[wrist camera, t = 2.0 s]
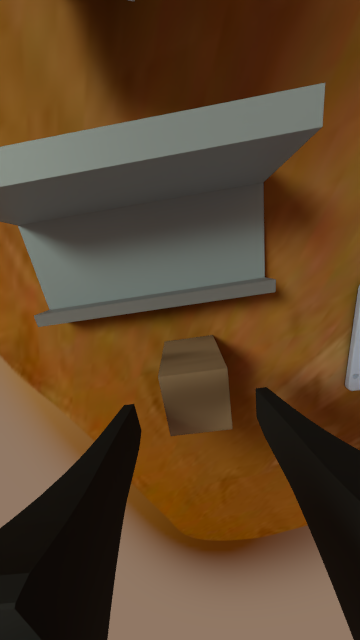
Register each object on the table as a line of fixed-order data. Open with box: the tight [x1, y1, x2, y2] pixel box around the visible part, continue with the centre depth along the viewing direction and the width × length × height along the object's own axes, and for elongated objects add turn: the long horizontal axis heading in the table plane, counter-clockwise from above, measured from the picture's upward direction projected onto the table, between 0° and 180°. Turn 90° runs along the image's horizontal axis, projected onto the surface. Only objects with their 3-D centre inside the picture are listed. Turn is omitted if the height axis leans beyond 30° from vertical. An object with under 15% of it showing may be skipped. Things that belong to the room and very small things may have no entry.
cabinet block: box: [158, 335, 232, 436], centre depth 14 cm, size 5×4×5 cm
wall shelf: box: [0, 83, 325, 327], centre depth 11 cm, size 8×16×6 cm, turn 99°
